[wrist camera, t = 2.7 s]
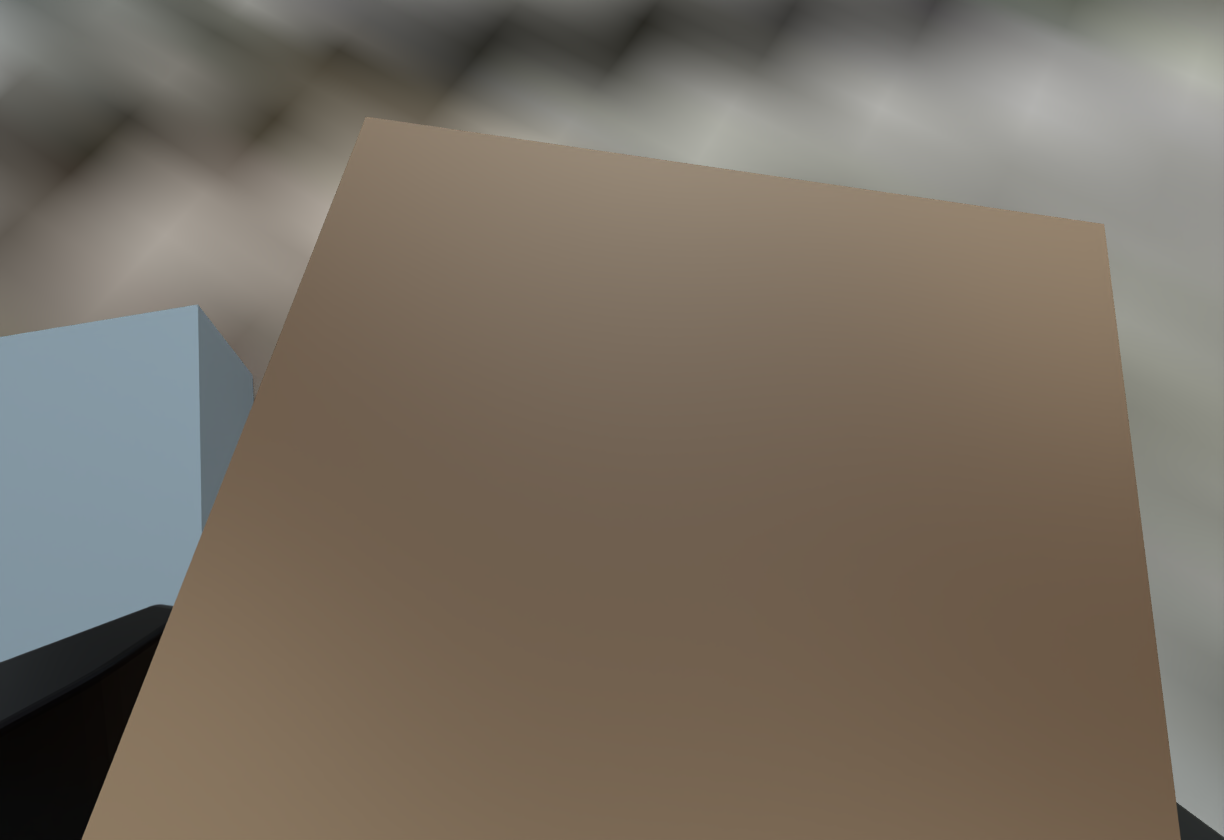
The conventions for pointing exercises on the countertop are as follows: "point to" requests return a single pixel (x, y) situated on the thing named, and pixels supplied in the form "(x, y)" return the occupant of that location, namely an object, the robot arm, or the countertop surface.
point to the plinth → (109, 466)
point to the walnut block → (665, 525)
